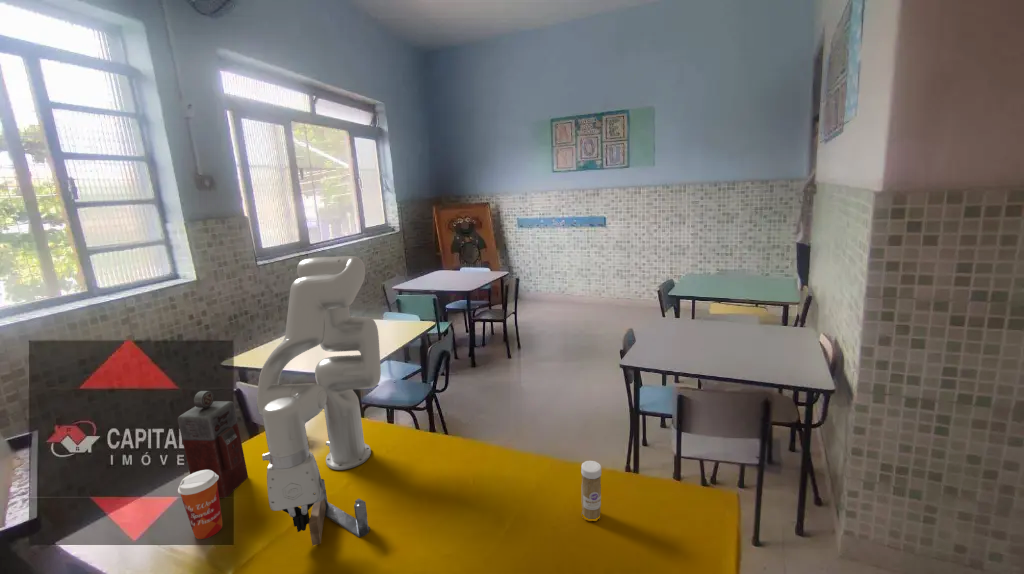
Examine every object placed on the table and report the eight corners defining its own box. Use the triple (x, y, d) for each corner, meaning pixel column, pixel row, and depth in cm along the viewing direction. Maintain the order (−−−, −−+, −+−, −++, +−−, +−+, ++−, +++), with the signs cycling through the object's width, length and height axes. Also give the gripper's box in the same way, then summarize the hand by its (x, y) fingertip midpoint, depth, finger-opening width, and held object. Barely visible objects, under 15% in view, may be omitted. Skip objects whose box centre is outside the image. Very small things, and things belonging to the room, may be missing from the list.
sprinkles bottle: (588, 525, 103) (588, 474, 100) (577, 513, 107) (577, 463, 104) (605, 519, 105) (605, 468, 102) (593, 506, 109) (593, 457, 106)
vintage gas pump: (234, 498, 117) (213, 400, 111) (194, 496, 118) (172, 399, 112) (256, 476, 126) (238, 384, 120) (219, 475, 127) (199, 384, 121)
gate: (318, 509, 110) (315, 488, 109) (326, 507, 111) (322, 487, 109) (312, 545, 99) (308, 523, 98) (320, 543, 99) (317, 521, 98)
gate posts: (315, 510, 111) (311, 483, 110) (328, 501, 114) (324, 475, 113) (361, 538, 102) (357, 510, 100) (373, 529, 104) (370, 501, 103)
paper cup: (186, 547, 101) (173, 493, 98) (191, 526, 108) (179, 474, 105) (226, 534, 105) (215, 482, 102) (229, 514, 111) (219, 464, 108)
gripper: (246, 472, 91) (261, 547, 95) (324, 457, 95) (336, 531, 99) (256, 451, 98) (270, 522, 102) (329, 439, 102) (339, 508, 106)
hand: (302, 526), depth 101 cm, fingers closed
